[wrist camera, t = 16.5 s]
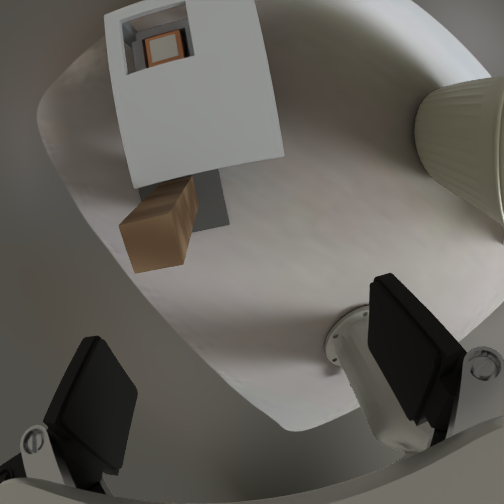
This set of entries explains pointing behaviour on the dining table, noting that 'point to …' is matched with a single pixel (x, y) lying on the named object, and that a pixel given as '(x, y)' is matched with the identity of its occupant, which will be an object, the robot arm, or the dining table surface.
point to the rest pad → (202, 199)
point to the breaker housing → (193, 91)
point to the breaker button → (165, 48)
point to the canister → (466, 141)
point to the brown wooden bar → (161, 226)
